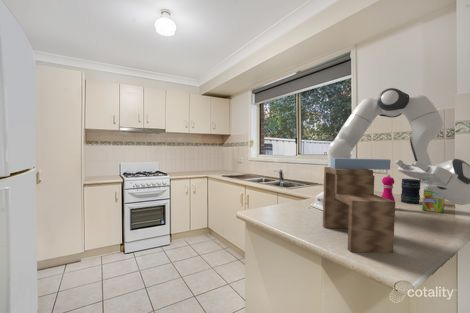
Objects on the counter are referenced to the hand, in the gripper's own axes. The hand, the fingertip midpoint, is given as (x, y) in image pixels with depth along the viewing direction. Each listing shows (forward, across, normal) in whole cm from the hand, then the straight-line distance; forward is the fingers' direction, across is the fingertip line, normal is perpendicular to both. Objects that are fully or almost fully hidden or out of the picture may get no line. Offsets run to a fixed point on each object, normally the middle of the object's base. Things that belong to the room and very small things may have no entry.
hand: (405, 162), depth 94 cm
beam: (+14, 0, +12) cm, 19 cm away
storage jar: (-53, -56, +3) cm, 77 cm away
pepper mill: (-31, -39, +16) cm, 53 cm away
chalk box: (-52, -37, +4) cm, 64 cm away
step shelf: (+6, +6, +37) cm, 38 cm away
